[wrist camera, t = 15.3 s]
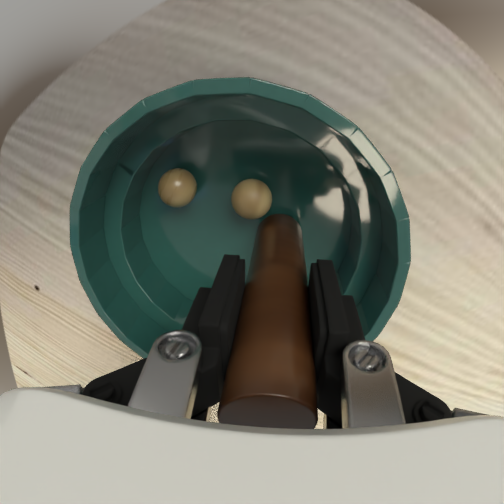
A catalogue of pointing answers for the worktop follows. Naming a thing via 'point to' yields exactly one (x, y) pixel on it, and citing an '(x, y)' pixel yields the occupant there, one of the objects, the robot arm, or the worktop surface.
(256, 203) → the bead
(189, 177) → the bead
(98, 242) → the mixing bowl
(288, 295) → the stick
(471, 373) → the worktop surface
